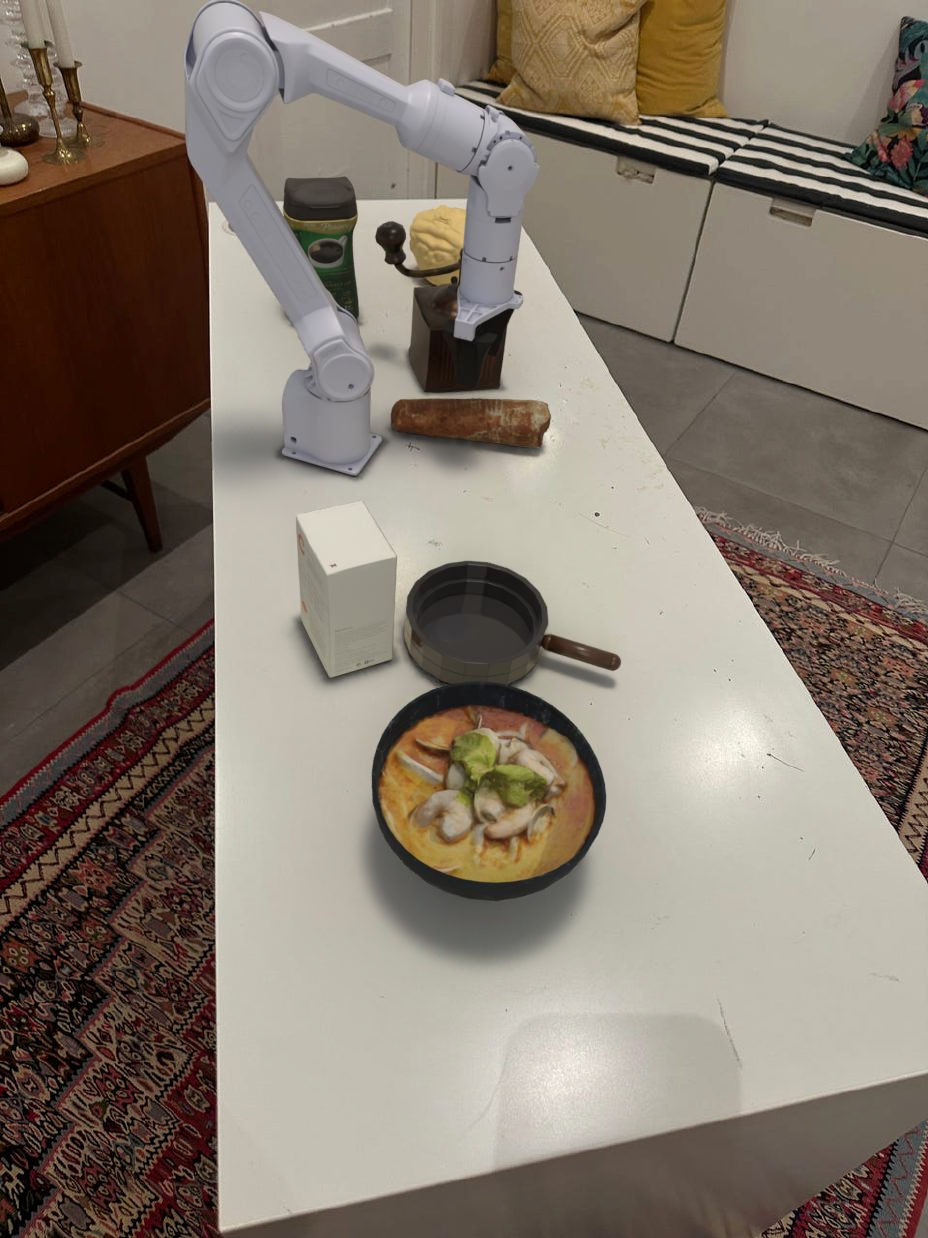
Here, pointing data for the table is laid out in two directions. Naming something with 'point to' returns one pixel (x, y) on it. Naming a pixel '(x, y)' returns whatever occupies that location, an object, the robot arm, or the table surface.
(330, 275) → the coffee jar
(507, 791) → the bowl
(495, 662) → the pan
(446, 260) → the sculpture
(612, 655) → the pan handle
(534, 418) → the bread
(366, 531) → the small box
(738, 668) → the table surface
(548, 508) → the table surface
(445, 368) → the manual coffee grinder
